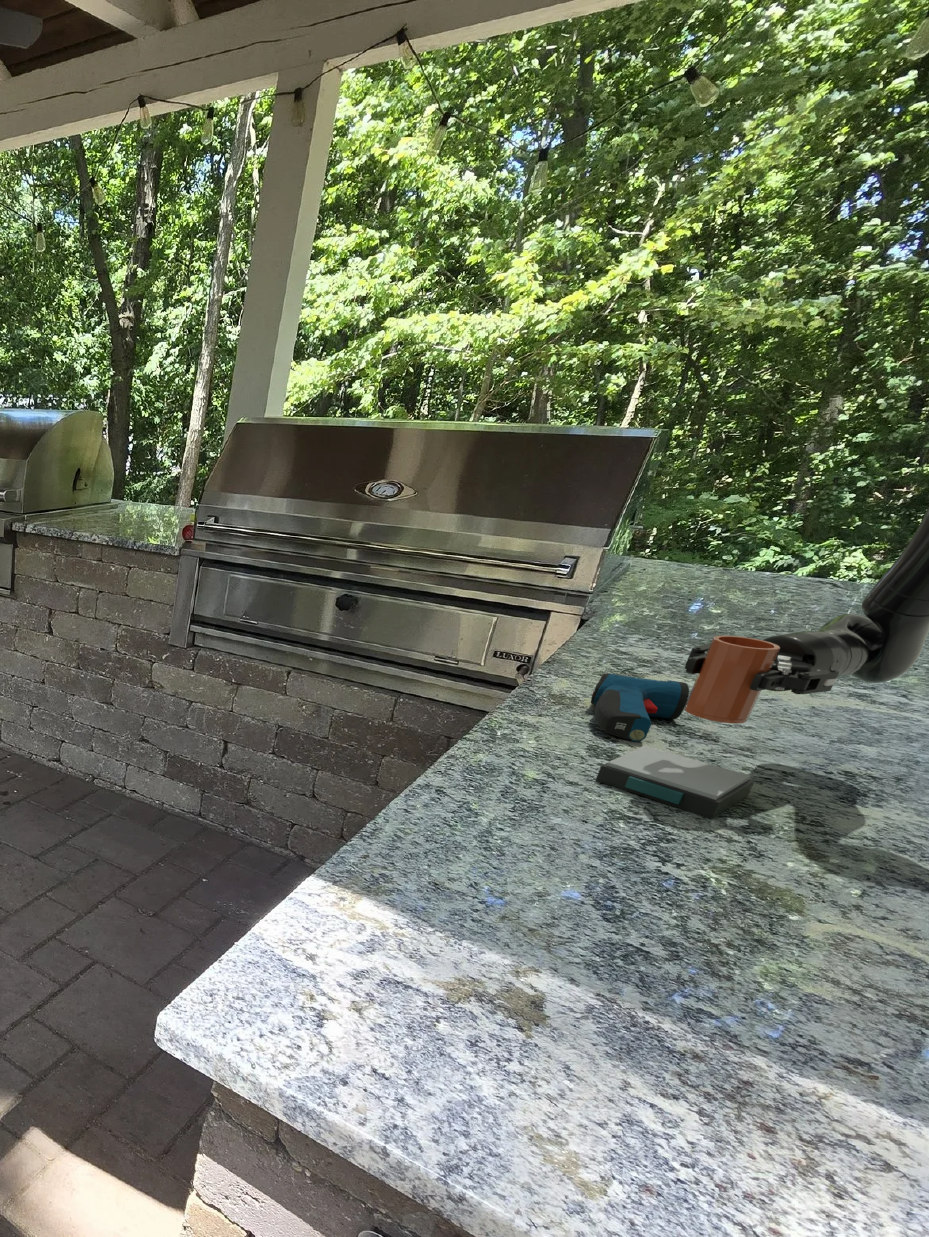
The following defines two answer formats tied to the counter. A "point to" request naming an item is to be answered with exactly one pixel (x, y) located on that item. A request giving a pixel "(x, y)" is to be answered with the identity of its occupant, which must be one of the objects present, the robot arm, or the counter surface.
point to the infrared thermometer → (636, 704)
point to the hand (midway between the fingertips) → (722, 673)
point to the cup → (730, 678)
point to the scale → (677, 780)
